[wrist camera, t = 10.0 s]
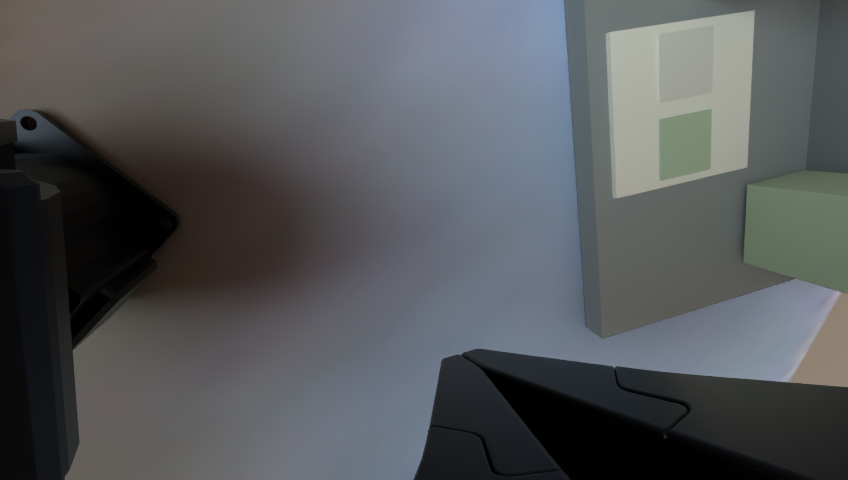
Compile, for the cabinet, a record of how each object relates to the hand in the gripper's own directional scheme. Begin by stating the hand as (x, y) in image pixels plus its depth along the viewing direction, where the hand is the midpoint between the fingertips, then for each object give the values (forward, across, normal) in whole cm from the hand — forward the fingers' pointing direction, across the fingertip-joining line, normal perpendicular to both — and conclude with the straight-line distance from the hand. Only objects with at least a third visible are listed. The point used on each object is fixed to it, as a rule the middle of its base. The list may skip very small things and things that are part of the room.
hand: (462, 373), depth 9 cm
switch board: (+12, +18, +4) cm, 22 cm away
